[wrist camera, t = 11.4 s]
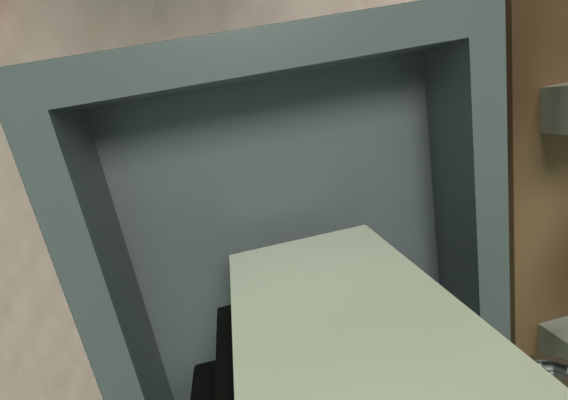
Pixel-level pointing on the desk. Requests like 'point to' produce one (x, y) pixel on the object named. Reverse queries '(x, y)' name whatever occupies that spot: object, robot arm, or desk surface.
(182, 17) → the desk surface
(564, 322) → the fuse board
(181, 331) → the tray
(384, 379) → the block
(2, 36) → the desk surface
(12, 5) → the desk surface
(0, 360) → the desk surface
